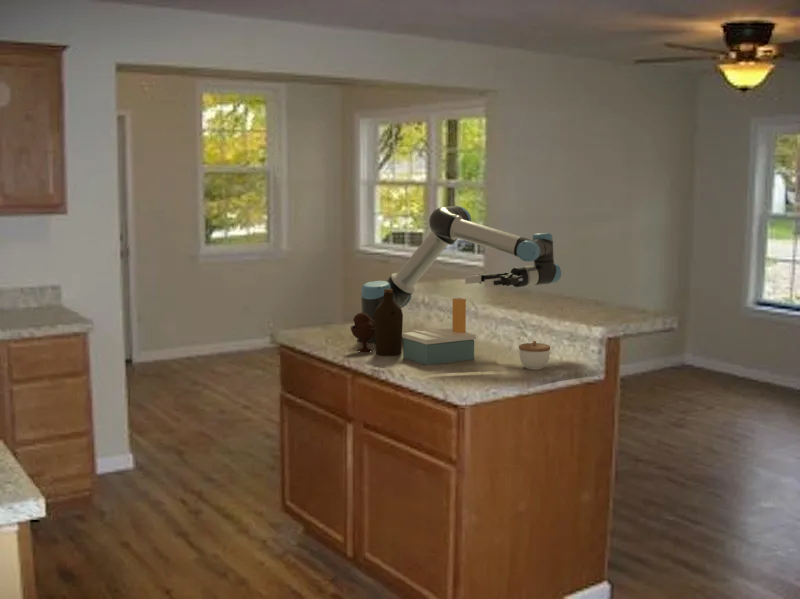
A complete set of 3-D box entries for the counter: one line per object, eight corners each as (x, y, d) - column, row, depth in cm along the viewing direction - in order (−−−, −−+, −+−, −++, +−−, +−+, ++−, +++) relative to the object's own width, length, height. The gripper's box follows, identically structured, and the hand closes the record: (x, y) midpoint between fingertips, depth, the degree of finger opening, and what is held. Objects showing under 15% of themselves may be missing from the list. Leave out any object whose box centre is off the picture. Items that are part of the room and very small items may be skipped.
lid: (402, 337, 324) (402, 300, 322) (449, 332, 334) (449, 296, 332) (426, 344, 310) (426, 305, 308) (475, 339, 320) (475, 301, 318)
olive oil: (408, 355, 333) (408, 288, 329) (389, 360, 325) (389, 291, 321) (387, 352, 339) (387, 286, 336) (368, 356, 331) (367, 289, 328)
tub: (403, 360, 325) (403, 338, 324) (449, 354, 335) (449, 333, 334) (426, 367, 311) (426, 345, 310) (474, 361, 321) (474, 339, 320)
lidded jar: (531, 363, 319) (532, 337, 317) (556, 367, 311) (556, 341, 310) (512, 367, 311) (512, 341, 310) (536, 372, 304) (537, 345, 302)
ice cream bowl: (375, 354, 335) (375, 314, 333) (347, 353, 338) (346, 314, 336) (382, 349, 346) (381, 310, 344) (354, 348, 348) (353, 310, 346)
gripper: (543, 289, 328) (494, 295, 318) (505, 283, 350) (458, 288, 341) (542, 269, 327) (493, 274, 317) (504, 264, 349) (457, 269, 339)
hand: (475, 281), depth 329 cm, fingers open, 13 cm apart
